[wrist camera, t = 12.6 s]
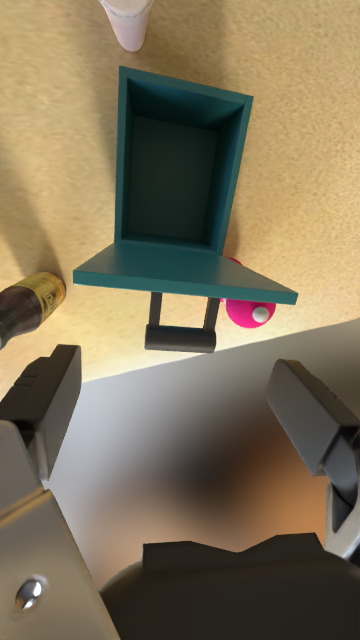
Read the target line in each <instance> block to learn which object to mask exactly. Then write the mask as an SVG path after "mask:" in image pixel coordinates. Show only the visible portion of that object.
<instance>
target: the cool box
mask: <svg viewBox="0 0 360 640" xmlns="http://www.w3.org/2000/svg"><path fill="white" fill-rule="evenodd" d="M252 102H253V96H249V95H245V94H241V93H236V92H232V91H228V90H223V89H219V88H215V87H210V86H206V85H202V84H197V83H193V82H189V81H184V80H180V79H175V78H171V77H167V76H162V75H158V74H154V73H149V72H145V71H141V70H136V69H132V68H127V67H124V66H119V86H118V123H117V160H116V197H115V234H114V243H122V244H130V245H139V246H147V247H155V248H163V249H171V250H180V251H188V252H196V253H204V254H213V255H221V256H222V253H223V248H224V243H225V238H226V233H227V228H228V223H229V218H230V213H231V208H232V203H233V198H234V193H235V188H236V183H237V178H238V173H239V168H240V163H241V158H242V153H243V148H244V143H245V137H246V132H247V127H248V122H249V117H250V112H251V107H252Z"/></svg>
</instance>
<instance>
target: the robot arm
mask: <svg viewBox="0 0 360 640" xmlns="http://www.w3.org/2000/svg"><path fill="white" fill-rule="evenodd" d="M81 379H82V377H81V347H80V346H79V345H63V344H58V345H57V346H56V348H55V350H54V351H53V353H52V354H51V356H50V357H40V358H38V359H37V360H35V361H33V362H32V363H30V364H29V365H28V366H27V367H26V368H25V370H24V371H23V372H22V374H21V375H20V377H19V378H18V379H17V380H16V382H15V383H14V386H12V387H11V388H10V390H9V391H8V393H7V394H6V395H5V397H4V398H3V399H2V401H1V402H0V640H360V420H359V419H358V418H357V417H356V416H355V415H354V414H353V413H352V412H351V411H350V410H349V409H348V407H347V406H346V405H344V403H343V402H342V401H340V399H337V396H336V395H334V393H333V392H332V391H329V388H328V387H327V386H326V385H325V384H324V383H323V382H322V381H321V380H319V379H318V378H316V377H315V376H313V375H312V374H311V373H310V372H309V371H308V370H307V369H306V368H305V367H304V366H303V365H302V364H301V363H300V362H299V361H297V360H287V359H279V360H277V361H276V363H275V365H274V368H273V371H272V373H271V376H270V379H269V382H268V384H267V387H266V399H267V402H268V404H269V406H270V407H271V409H272V411H273V412H274V414H275V415H276V417H277V419H278V420H279V422H280V424H281V425H282V427H283V428H284V430H285V432H286V433H287V435H288V437H289V438H290V440H291V442H292V443H293V445H294V446H295V448H296V450H297V451H298V453H299V455H300V456H301V458H302V460H303V461H304V463H305V465H306V466H307V468H308V470H309V471H310V473H311V474H312V476H328V477H329V479H330V481H329V483H328V485H327V489H326V490H327V491H326V492H327V493H326V537H325V545H324V549H323V547H322V545H321V543H320V541H319V539H318V537H317V535H316V533H300V534H285V535H276V536H274V537H272V538H269V539H267V540H265V541H264V542H261V543H259V544H257V545H255V546H253V547H251V548H249V549H247V550H245V551H242V552H238V553H236V552H231V551H227V550H223V549H219V548H215V547H211V546H208V545H204V544H200V543H196V542H192V541H180V542H164V543H149V544H143V548H142V554H141V560H140V561H138V562H136V563H134V564H132V565H129V566H128V567H126V568H125V569H123V570H121V571H120V572H118V573H117V574H116V575H114V576H113V577H112V578H111V579H110V580H108V581H107V582H106V583H105V584H104V585H103V586H102V587H101V588H100V589H99V590H97V588H96V585H95V583H94V581H93V579H92V577H91V575H90V572H89V570H88V568H87V566H86V564H85V561H84V559H83V557H82V555H81V553H80V551H79V548H78V546H77V544H76V542H75V540H74V538H73V535H72V533H71V531H70V529H69V527H68V525H67V522H66V520H65V518H64V516H63V514H62V512H61V509H60V507H59V505H58V503H57V501H56V499H55V497H54V495H53V493H52V492H51V490H49V489H47V490H45V489H44V487H43V485H42V482H41V481H49V478H50V475H51V473H52V469H53V467H54V464H55V461H56V459H57V456H58V453H59V450H60V447H61V445H62V442H63V439H64V436H65V433H66V431H67V428H68V425H69V422H70V419H71V417H72V414H73V411H74V408H75V406H76V403H77V400H78V397H79V394H80V389H81Z"/></svg>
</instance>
